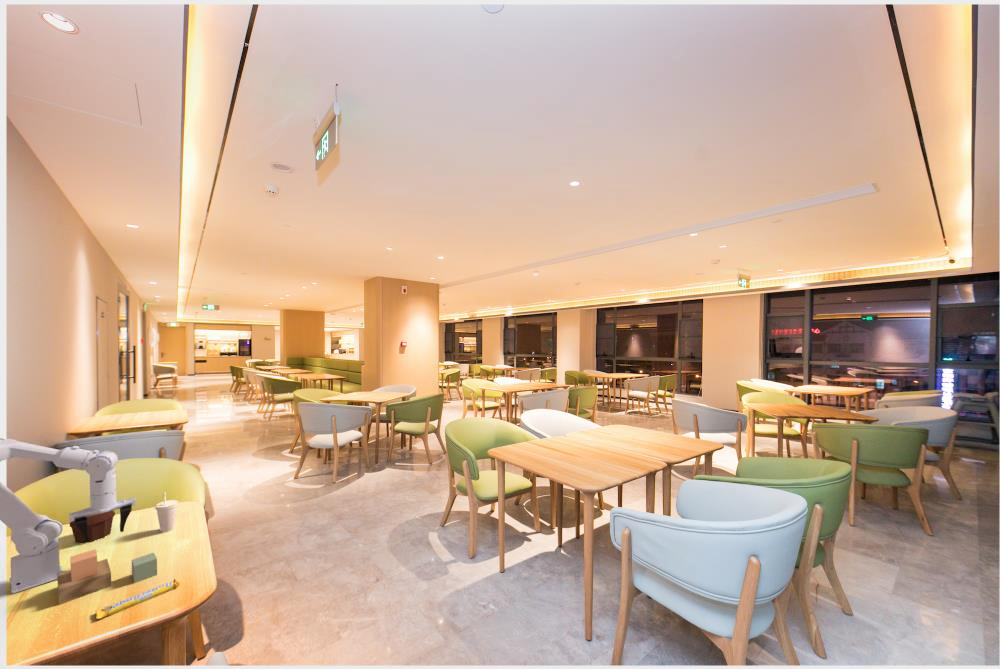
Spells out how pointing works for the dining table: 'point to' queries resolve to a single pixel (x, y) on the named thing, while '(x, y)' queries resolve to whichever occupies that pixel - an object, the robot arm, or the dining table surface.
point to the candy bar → (136, 599)
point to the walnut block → (83, 583)
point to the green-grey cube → (144, 567)
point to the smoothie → (166, 514)
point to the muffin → (94, 527)
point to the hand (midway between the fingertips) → (104, 535)
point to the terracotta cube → (83, 565)
